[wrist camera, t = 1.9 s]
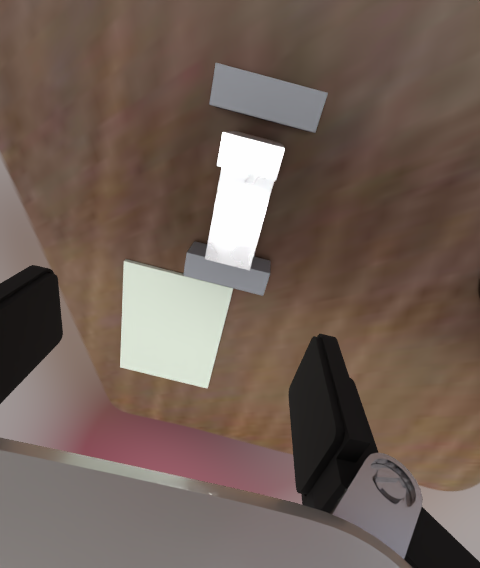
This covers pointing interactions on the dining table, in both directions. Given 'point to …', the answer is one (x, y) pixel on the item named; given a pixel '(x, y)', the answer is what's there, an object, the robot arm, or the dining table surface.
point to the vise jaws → (268, 106)
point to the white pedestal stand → (242, 196)
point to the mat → (171, 323)
